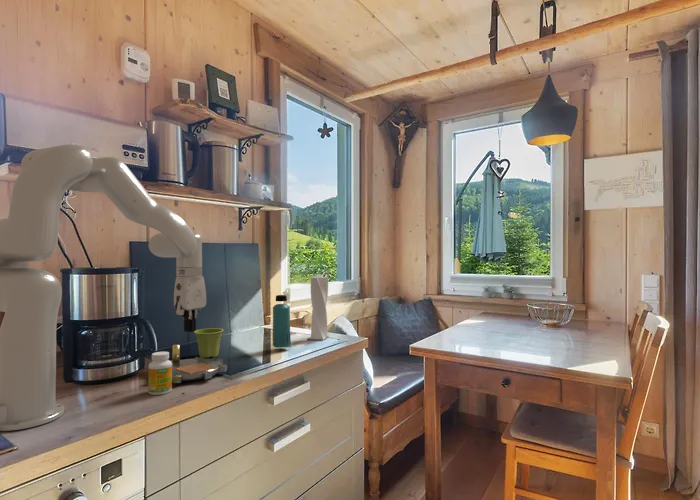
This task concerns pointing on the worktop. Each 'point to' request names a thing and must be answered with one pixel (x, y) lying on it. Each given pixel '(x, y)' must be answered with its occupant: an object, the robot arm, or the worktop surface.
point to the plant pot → (208, 341)
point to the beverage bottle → (281, 323)
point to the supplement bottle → (160, 374)
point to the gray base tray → (194, 367)
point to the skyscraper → (319, 307)
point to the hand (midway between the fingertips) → (190, 331)
